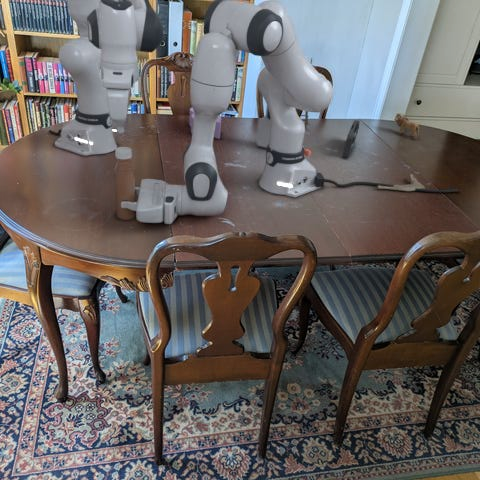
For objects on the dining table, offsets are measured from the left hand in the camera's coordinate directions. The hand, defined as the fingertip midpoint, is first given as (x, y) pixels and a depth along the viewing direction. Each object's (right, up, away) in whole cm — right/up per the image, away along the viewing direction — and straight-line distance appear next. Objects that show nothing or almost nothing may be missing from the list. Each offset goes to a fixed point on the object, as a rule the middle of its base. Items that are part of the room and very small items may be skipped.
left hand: (122, 126), depth 122 cm
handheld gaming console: (+77, +8, +75) cm, 108 cm away
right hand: (-3, -18, +11) cm, 21 cm away
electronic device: (+44, +8, +69) cm, 82 cm away
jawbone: (+88, -9, +50) cm, 102 cm away
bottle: (-2, -22, +14) cm, 27 cm away
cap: (-1, -6, +4) cm, 7 cm away
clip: (+15, +17, +79) cm, 82 cm away
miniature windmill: (+58, +24, +96) cm, 115 cm away
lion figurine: (+109, +20, +99) cm, 148 cm away
